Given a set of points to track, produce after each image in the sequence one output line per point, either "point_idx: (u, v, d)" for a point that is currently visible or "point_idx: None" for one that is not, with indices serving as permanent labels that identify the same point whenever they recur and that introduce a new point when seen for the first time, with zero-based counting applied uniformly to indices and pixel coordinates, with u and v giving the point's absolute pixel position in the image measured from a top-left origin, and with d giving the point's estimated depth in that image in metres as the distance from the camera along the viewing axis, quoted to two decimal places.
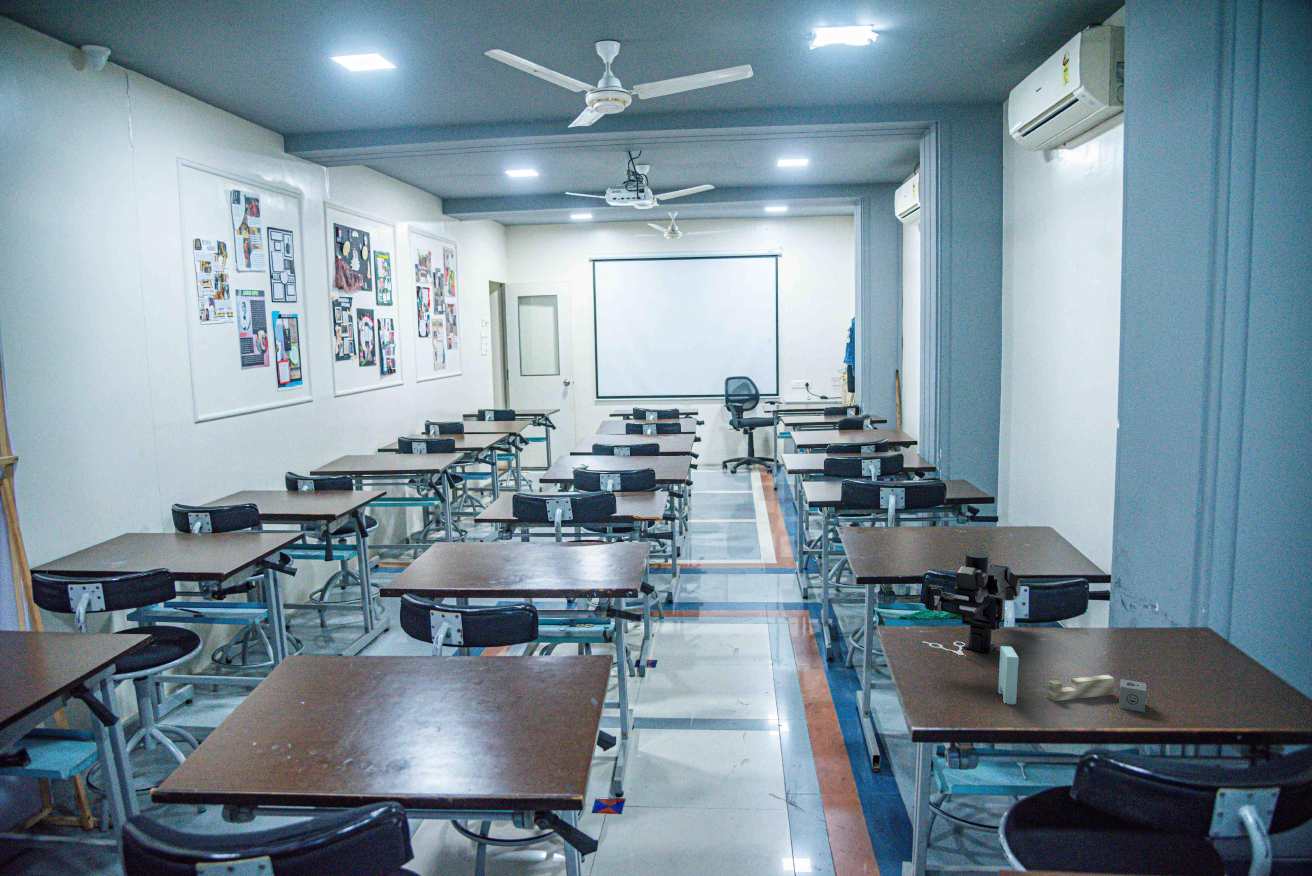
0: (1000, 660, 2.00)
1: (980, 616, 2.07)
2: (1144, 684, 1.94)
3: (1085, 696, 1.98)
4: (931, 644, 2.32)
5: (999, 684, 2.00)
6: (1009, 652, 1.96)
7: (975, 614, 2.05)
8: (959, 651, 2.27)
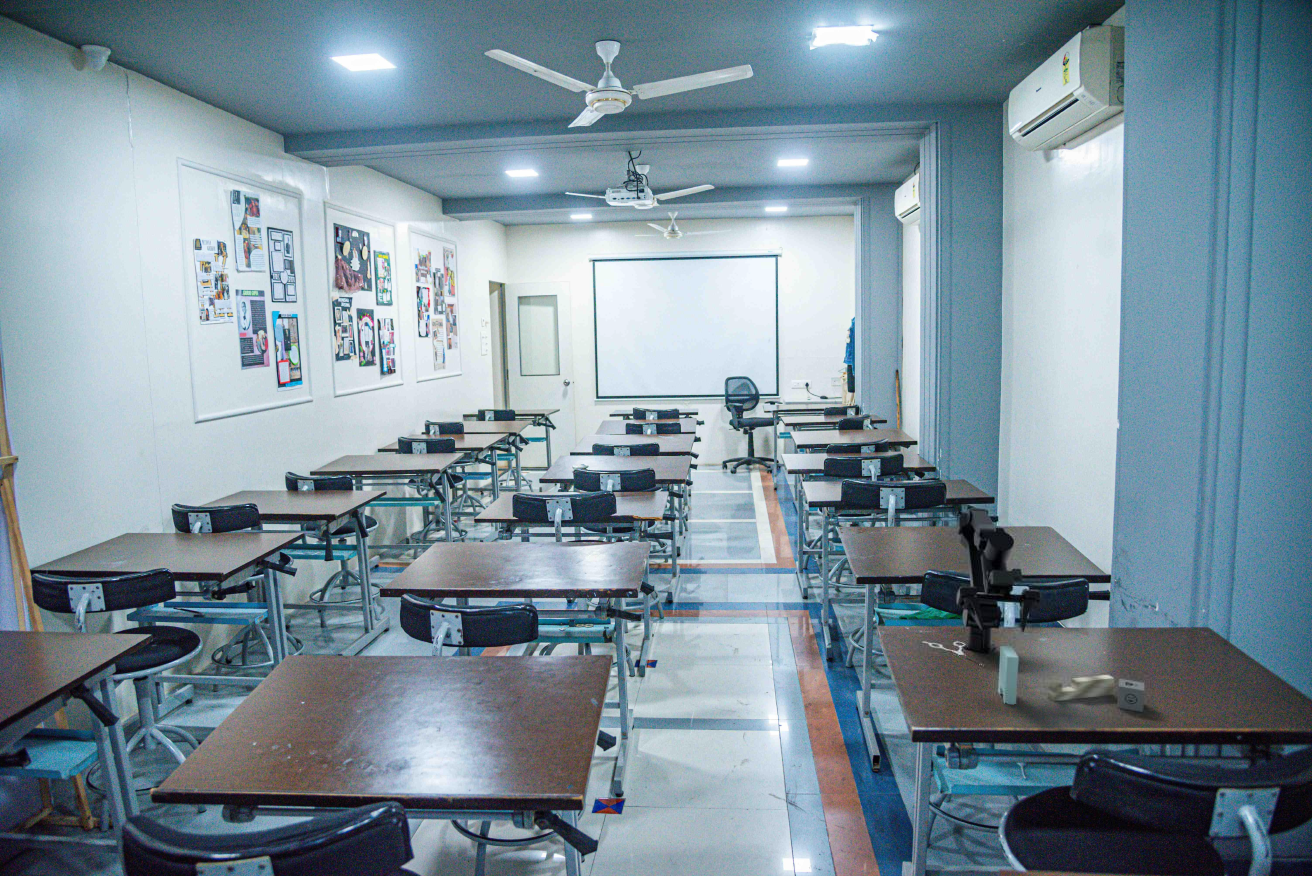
0: (1000, 660, 2.00)
1: None
2: (1142, 684, 1.94)
3: (1085, 696, 1.98)
4: (931, 644, 2.32)
5: (999, 684, 2.00)
6: (1009, 652, 1.96)
7: (1024, 629, 2.03)
8: (959, 651, 2.27)
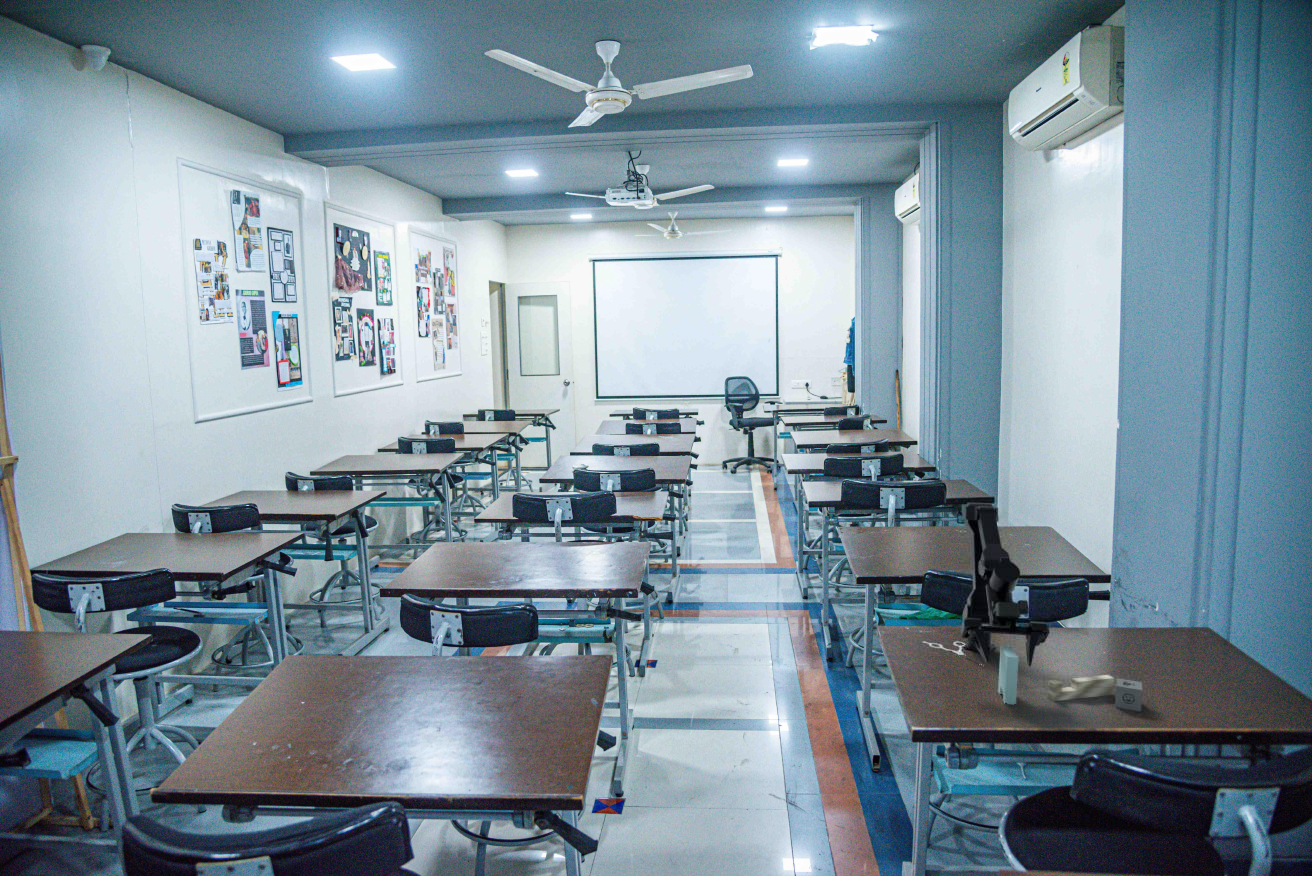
0: (1000, 660, 2.00)
1: None
2: (1140, 683, 1.94)
3: (1085, 696, 1.98)
4: (931, 644, 2.32)
5: (999, 684, 2.00)
6: (1009, 652, 1.96)
7: (1031, 663, 1.96)
8: (959, 651, 2.27)
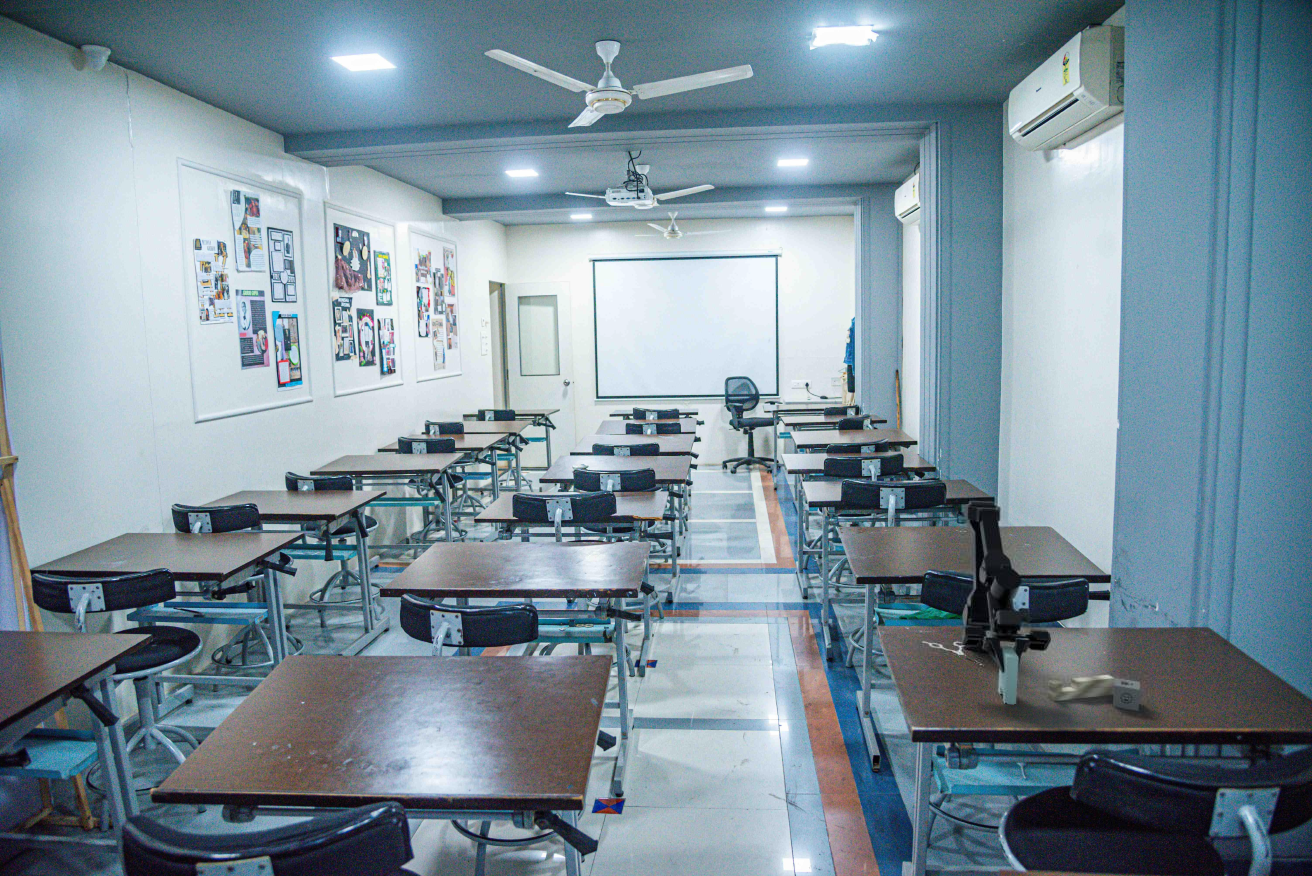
0: None
1: None
2: (1138, 683, 1.94)
3: (1085, 696, 1.98)
4: (931, 644, 2.32)
5: (999, 684, 2.00)
6: (1009, 652, 1.96)
7: None
8: (959, 651, 2.27)
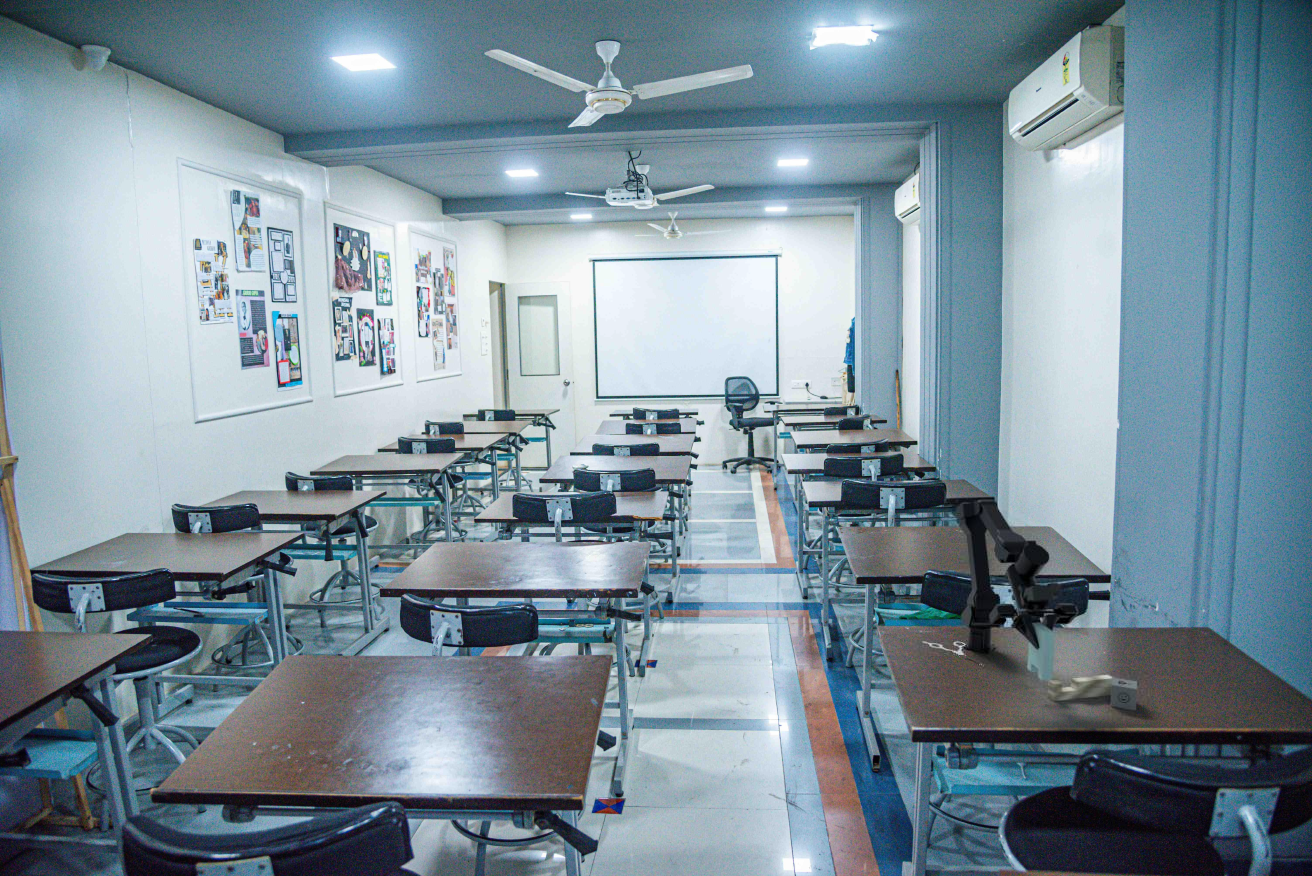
0: None
1: None
2: (1135, 682, 1.95)
3: (1085, 696, 1.98)
4: (931, 644, 2.32)
5: (1029, 661, 1.99)
6: (1042, 628, 1.95)
7: None
8: (959, 651, 2.27)
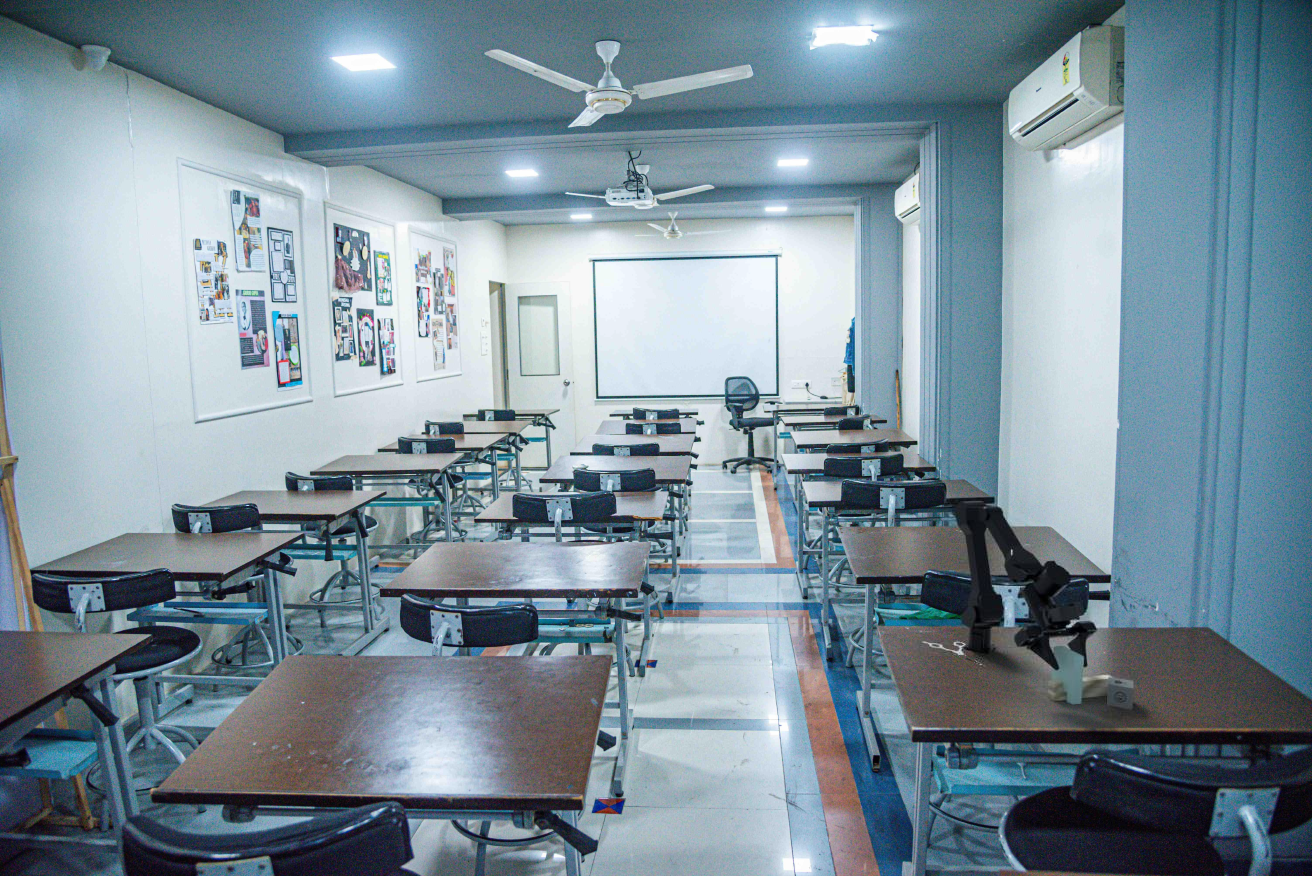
0: None
1: None
2: (1132, 682, 1.95)
3: (1085, 696, 1.98)
4: (931, 644, 2.32)
5: None
6: (1069, 652, 1.96)
7: None
8: (959, 651, 2.27)
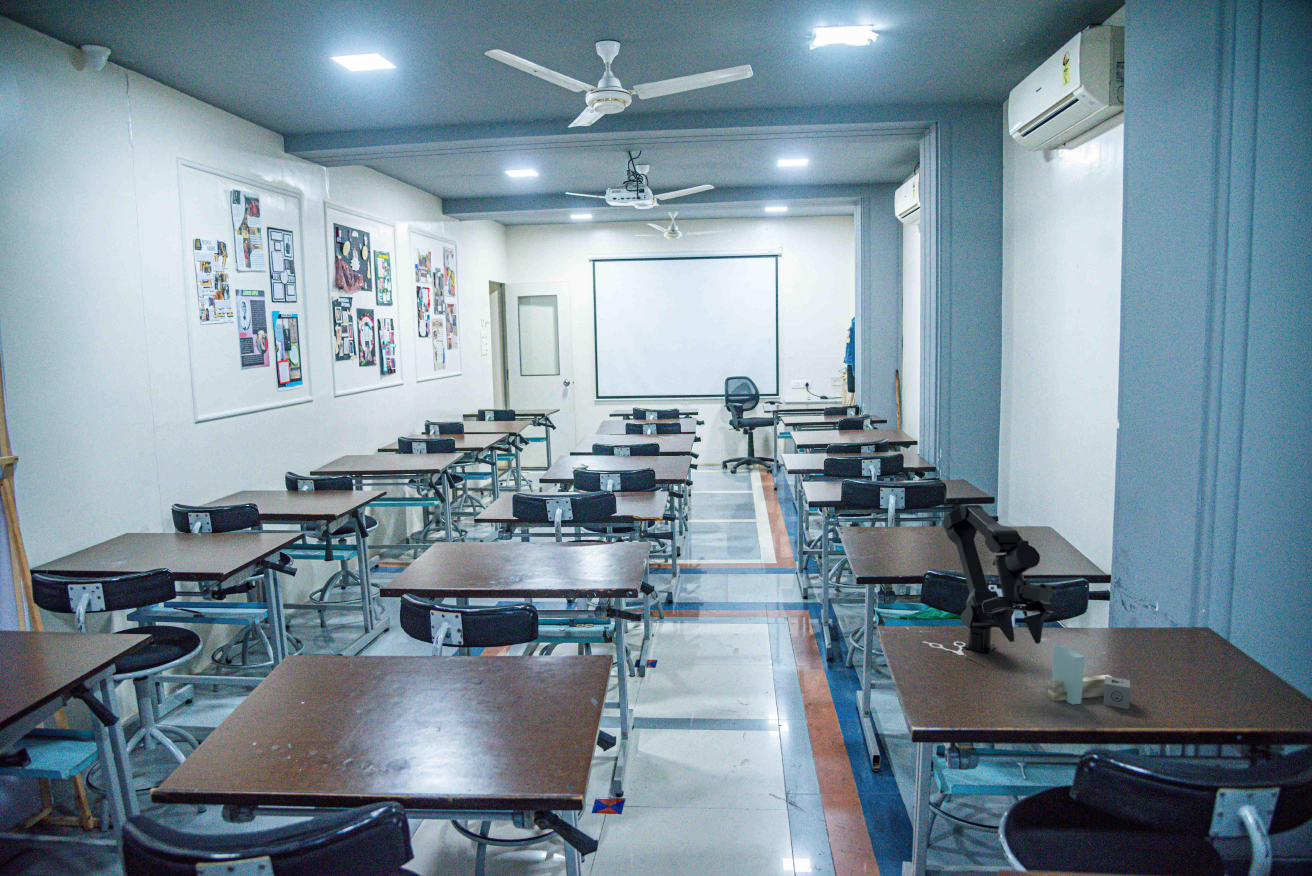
0: (1055, 661, 2.00)
1: None
2: (1128, 681, 1.95)
3: (1085, 696, 1.98)
4: (931, 644, 2.32)
5: None
6: (1069, 652, 1.96)
7: None
8: (959, 651, 2.27)
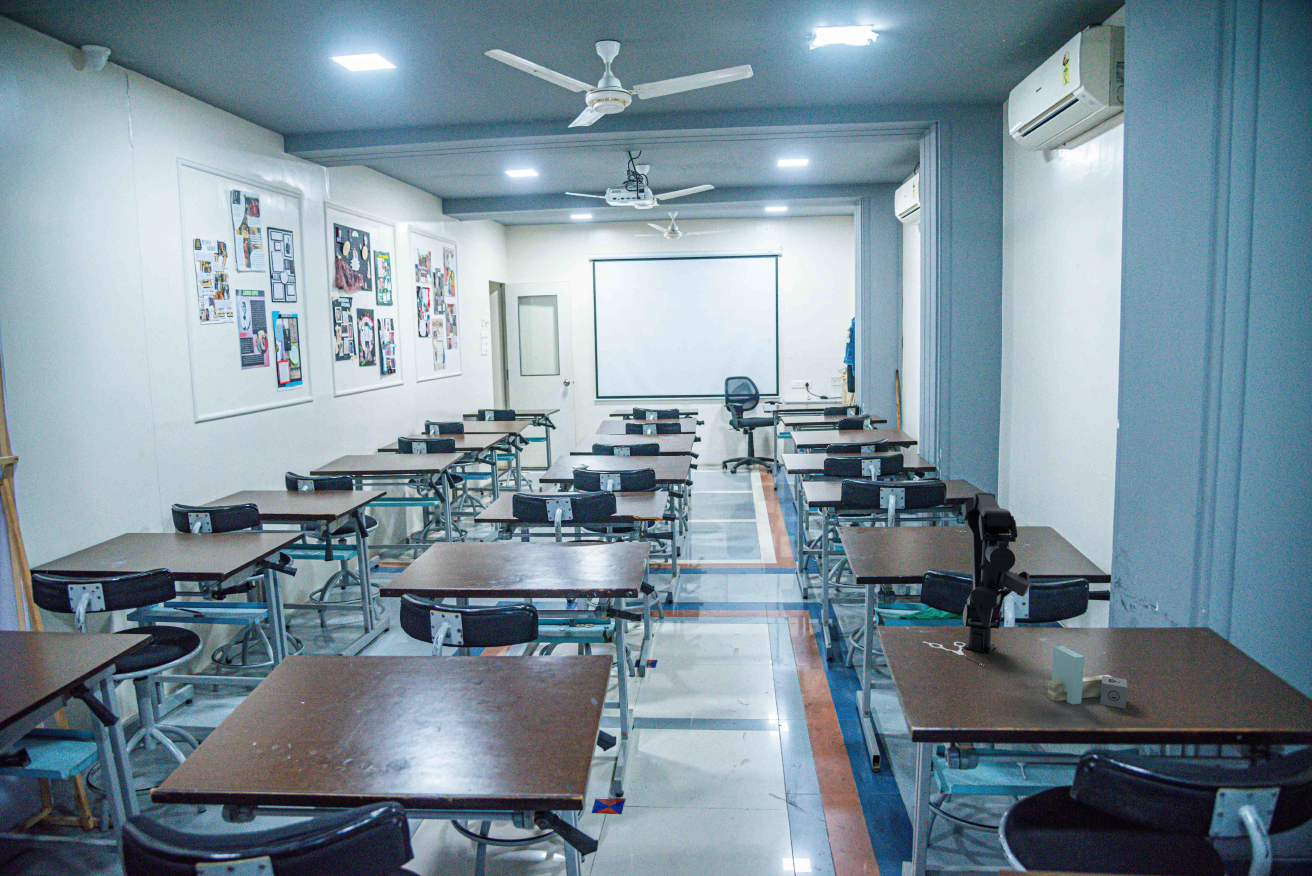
0: (1055, 661, 2.00)
1: None
2: (1125, 681, 1.96)
3: (1085, 696, 1.98)
4: (931, 644, 2.32)
5: None
6: (1069, 652, 1.96)
7: None
8: (959, 651, 2.27)
